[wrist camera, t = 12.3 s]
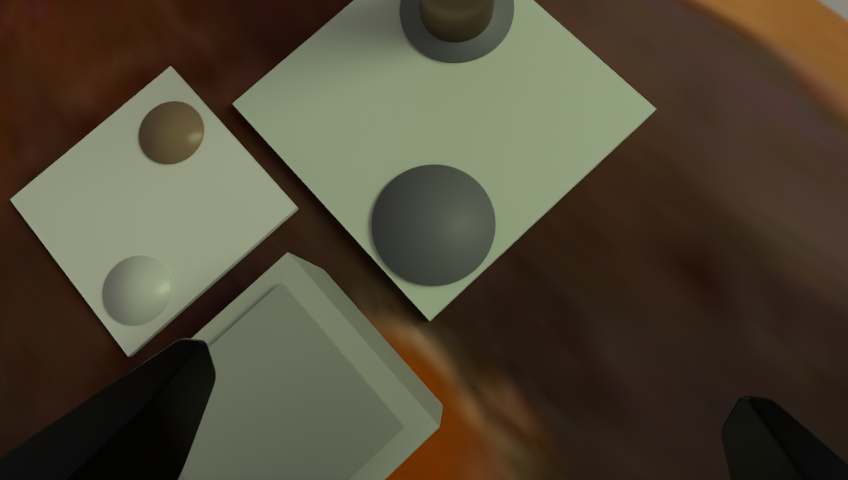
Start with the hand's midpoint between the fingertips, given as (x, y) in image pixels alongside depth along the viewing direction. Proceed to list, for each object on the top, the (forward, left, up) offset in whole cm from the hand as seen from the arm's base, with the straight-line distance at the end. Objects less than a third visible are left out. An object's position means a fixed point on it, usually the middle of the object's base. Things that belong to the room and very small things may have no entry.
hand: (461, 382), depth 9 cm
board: (+7, +9, -13) cm, 18 cm away
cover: (-6, +3, -13) cm, 15 cm away
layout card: (-6, +15, -13) cm, 21 cm away
